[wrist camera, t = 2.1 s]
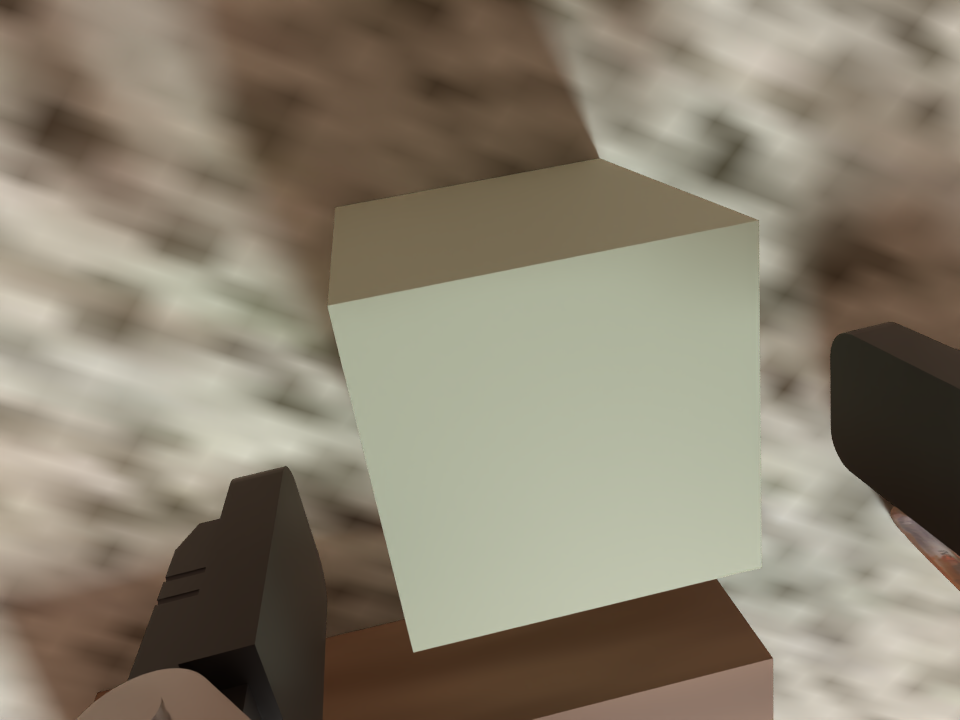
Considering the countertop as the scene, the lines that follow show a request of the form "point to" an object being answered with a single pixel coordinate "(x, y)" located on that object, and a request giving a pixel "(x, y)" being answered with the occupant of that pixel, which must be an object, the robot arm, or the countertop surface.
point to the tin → (929, 547)
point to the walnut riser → (564, 667)
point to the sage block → (552, 391)
